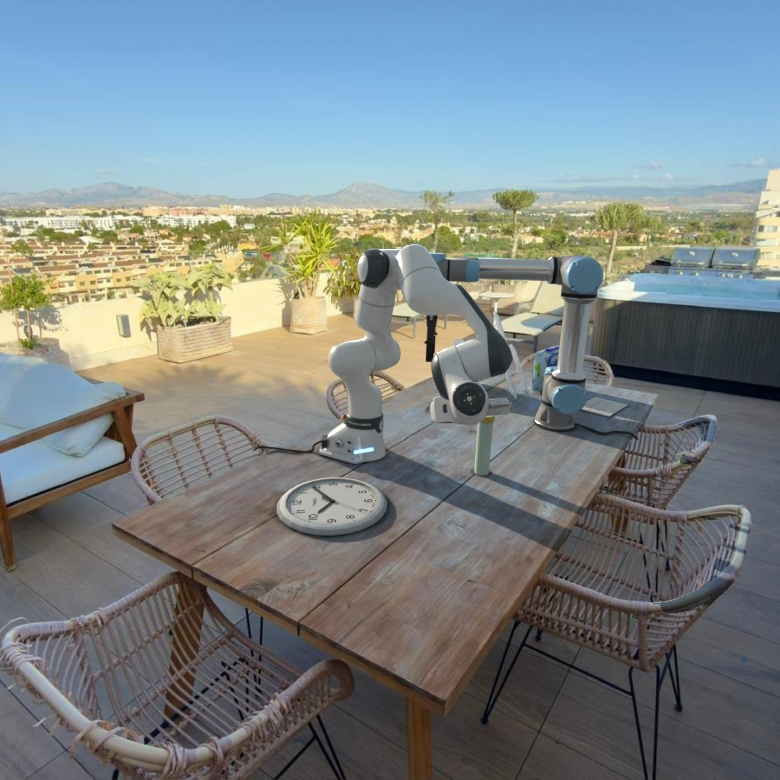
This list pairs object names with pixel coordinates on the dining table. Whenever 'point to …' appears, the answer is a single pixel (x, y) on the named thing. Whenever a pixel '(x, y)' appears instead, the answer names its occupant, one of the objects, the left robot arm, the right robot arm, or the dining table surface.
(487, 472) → the green cylinder
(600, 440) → the dining table surface
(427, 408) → the fork
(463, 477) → the dining table surface
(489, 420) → the lid
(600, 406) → the invitation card
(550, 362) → the lunch box
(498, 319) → the white plastic object
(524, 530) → the dining table surface
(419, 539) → the dining table surface
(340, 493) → the wall clock
